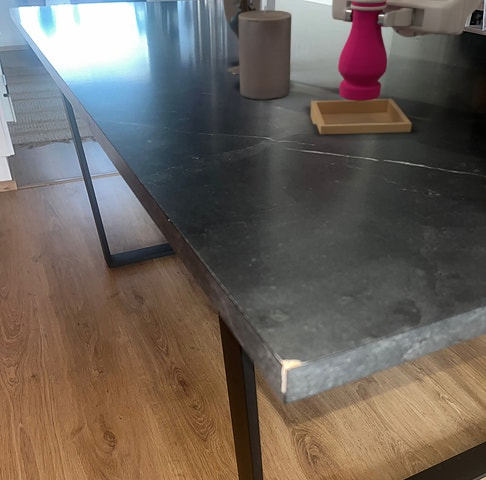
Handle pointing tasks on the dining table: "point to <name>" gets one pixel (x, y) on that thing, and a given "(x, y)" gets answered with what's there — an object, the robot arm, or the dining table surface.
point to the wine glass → (233, 5)
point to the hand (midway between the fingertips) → (364, 17)
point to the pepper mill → (363, 53)
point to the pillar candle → (264, 53)
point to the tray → (358, 116)
